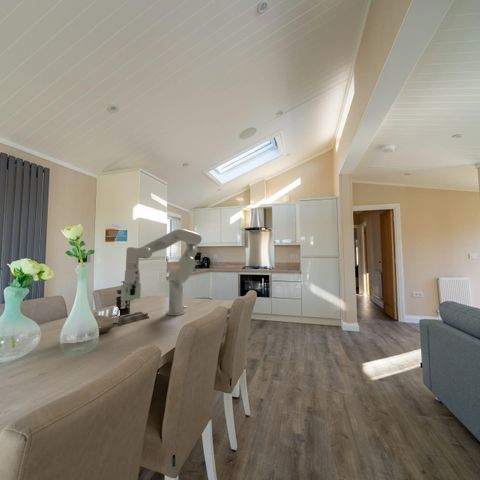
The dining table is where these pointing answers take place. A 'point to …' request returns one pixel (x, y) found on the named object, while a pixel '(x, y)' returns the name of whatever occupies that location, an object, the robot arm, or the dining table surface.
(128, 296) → the door panel
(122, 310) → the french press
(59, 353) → the dining table surface
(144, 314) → the door track
